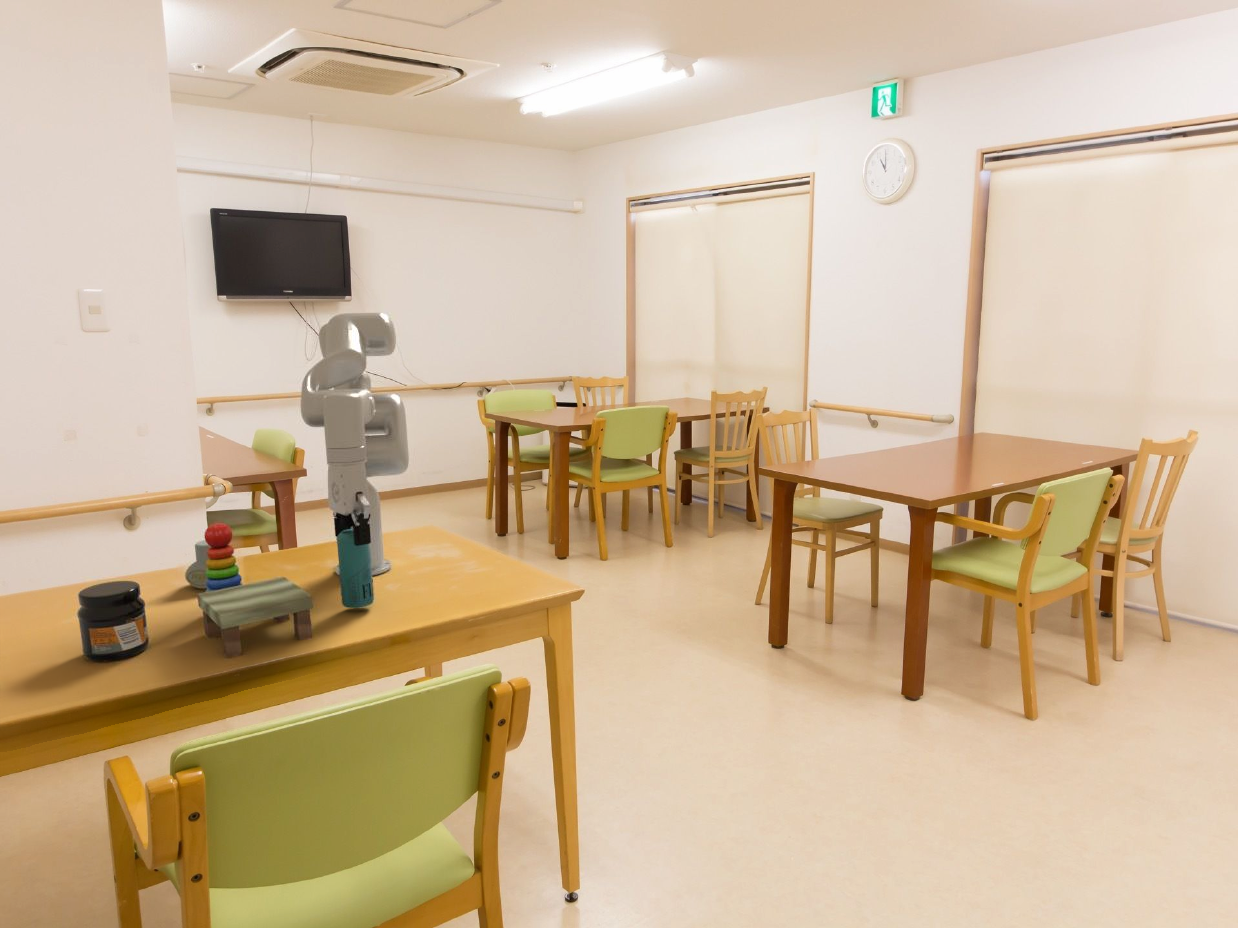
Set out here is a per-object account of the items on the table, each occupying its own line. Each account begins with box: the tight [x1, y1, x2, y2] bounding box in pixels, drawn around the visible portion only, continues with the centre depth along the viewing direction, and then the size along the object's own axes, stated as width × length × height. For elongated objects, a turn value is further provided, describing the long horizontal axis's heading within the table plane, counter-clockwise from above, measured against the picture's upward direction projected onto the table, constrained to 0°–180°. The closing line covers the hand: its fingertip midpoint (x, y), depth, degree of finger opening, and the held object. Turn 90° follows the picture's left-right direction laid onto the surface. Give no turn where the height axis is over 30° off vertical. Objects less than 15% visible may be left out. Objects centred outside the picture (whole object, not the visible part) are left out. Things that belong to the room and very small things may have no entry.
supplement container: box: [76, 580, 150, 663], centre depth 156 cm, size 10×10×12 cm
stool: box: [197, 576, 314, 659], centre depth 163 cm, size 16×16×8 cm
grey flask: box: [184, 539, 240, 590], centre depth 194 cm, size 11×8×10 cm
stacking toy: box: [204, 522, 244, 592], centre depth 175 cm, size 8×8×19 cm
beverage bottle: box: [336, 513, 375, 609], centre depth 175 cm, size 6×7×20 cm
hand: (352, 540), depth 174 cm, fingers open, 9 cm apart
